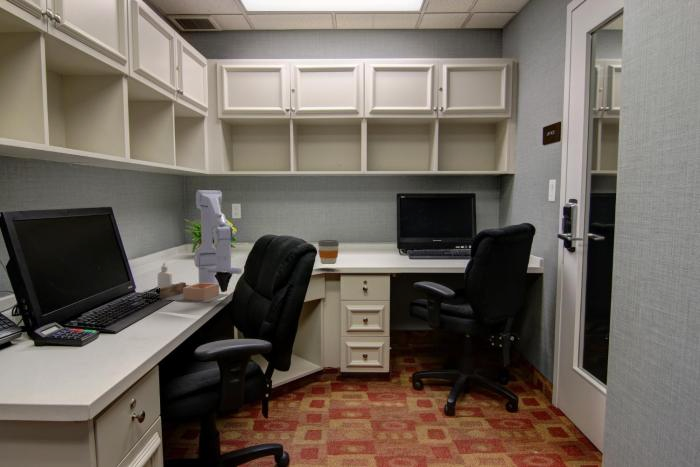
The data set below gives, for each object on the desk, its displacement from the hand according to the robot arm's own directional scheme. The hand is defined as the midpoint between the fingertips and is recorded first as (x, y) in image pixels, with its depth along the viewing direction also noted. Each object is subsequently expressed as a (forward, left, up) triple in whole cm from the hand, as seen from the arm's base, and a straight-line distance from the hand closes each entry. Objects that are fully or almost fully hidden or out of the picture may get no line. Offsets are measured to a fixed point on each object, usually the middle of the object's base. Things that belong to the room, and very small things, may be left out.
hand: (224, 291), depth 159 cm
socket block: (0, -10, -3) cm, 10 cm away
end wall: (0, -23, -3) cm, 23 cm away
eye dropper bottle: (-7, -33, -3) cm, 34 cm away
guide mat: (0, -15, -3) cm, 15 cm away
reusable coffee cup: (-96, +13, -3) cm, 97 cm away
